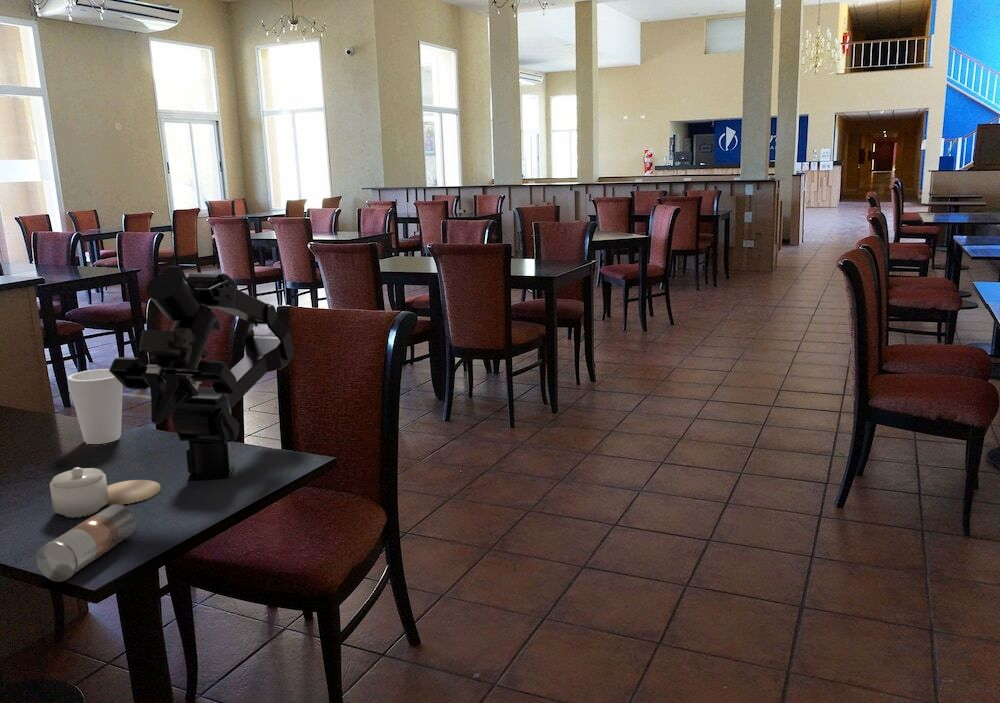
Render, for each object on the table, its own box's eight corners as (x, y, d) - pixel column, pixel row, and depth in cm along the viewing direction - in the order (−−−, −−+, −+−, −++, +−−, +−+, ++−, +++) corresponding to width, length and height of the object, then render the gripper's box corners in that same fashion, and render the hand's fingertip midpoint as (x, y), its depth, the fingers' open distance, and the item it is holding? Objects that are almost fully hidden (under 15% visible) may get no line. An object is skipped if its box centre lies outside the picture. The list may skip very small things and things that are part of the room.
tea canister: (126, 499, 112) (61, 538, 100) (142, 532, 113) (80, 575, 101) (96, 509, 114) (29, 550, 101) (112, 542, 114) (48, 586, 102)
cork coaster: (167, 479, 135) (166, 478, 135) (152, 503, 125) (152, 501, 125) (103, 483, 133) (103, 481, 133) (84, 507, 124) (83, 506, 124)
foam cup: (93, 451, 149) (85, 383, 146) (65, 442, 154) (57, 377, 151) (139, 437, 157) (132, 372, 154) (111, 429, 162) (104, 366, 159)
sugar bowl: (115, 499, 127) (110, 457, 126) (100, 519, 120) (95, 475, 118) (64, 502, 126) (58, 460, 124) (46, 522, 118) (40, 478, 117)
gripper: (110, 306, 124) (69, 393, 116) (222, 309, 121) (188, 399, 113) (145, 346, 133) (109, 429, 125) (249, 350, 130) (220, 435, 122)
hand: (155, 423), depth 121 cm, fingers closed
